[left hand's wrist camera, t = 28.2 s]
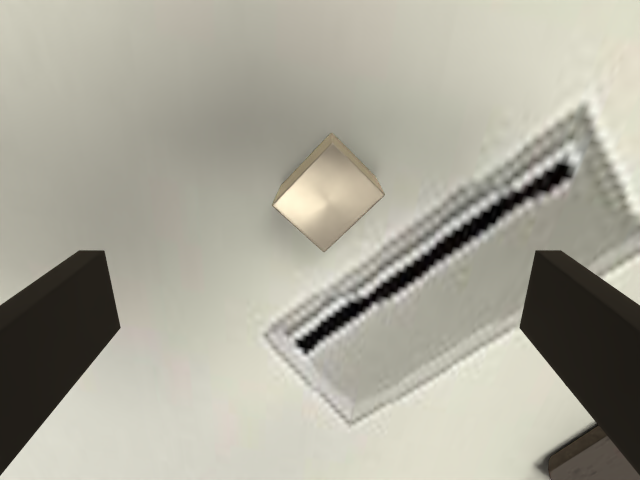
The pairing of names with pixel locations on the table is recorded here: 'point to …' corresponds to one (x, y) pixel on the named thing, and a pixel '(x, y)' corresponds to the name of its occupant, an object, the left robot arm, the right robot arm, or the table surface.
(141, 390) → the table surface
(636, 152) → the table surface
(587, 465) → the toy
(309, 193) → the beige metallic cube
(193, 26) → the table surface
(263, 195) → the table surface
